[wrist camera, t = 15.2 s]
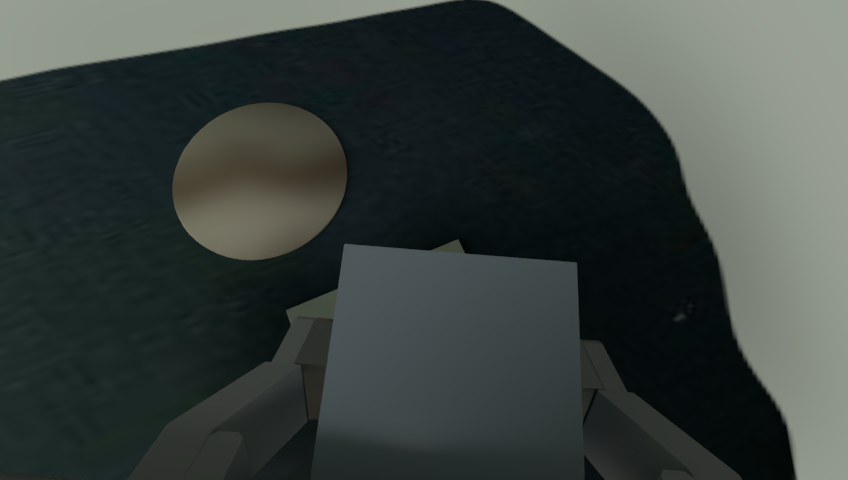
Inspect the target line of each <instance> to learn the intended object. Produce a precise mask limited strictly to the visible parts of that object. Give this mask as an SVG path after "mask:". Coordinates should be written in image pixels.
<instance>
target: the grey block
mask: <svg viewBox="0 0 848 480" xmlns="http://www.w3.org/2000/svg"><path fill="white" fill-rule="evenodd" d="M310 480H585V472H584V445H583V417H582V390H581V362H580V335H579V308H578V280H577V263H575V262H563V261H550V260H538V259H525V258H513V257H500V256H488V255H475V254H463V253H450V252H438V251H425V250H413V249H401V248H388V247H376V246H363V245H351V244H344V250H343V257H342V264H341V271H340V277H339V284H338V291H337V298H336V305H335V312H334V319H333V325H332V332H331V339H330V346H329V353H328V360H327V366H326V373H325V380H324V387H323V394H322V401H321V408H320V414H319V421H318V428H317V435H316V442H315V449H314V456H313V462H312V469H311V476H310Z"/></svg>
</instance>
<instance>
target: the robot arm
mask: <svg viewBox="0 0 848 480" xmlns="http://www.w3.org/2000/svg"><path fill="white" fill-rule="evenodd" d="M332 325H333V319H328V318H315V317H305V316H298V317H297V318H295V319H294V321H293V323H292V325H291V326H290V328H289V330H288V332H287V334H286V336H285V338H284V339H283V341H282V343H281V345H280V347H279V349H278V351H277V352H276V354H275V356H274V358H273V360H272V362H264V363H262V364H261V365H259V366H258V367H256V368H255V369H253V370H251V371H250V372H248V373H247V374H245V375H244V376H242V377H240V378H239V379H237V380H236V381H234V382H233V383H231V384H229V385H228V386H226V387H225V388H223V389H222V390H220V391H218V392H217V393H215V394H214V395H212V396H211V397H209V398H207V399H206V400H204V401H203V402H201V403H200V404H198V405H196V406H195V407H193V408H192V409H190V410H189V411H187V412H185V413H184V414H182V415H181V416H179V417H178V418H176V419H174V420H173V421H171V422H170V423H168V424H167V425H166V427H165V428H164V429H163V431H162V432H161V434H160V435H159V436H158V438H157V439H156V440H155V442H154V443H153V445H152V446H151V447H150V449H149V450H148V452H147V453H146V454H145V456H144V457H143V458H142V460H141V461H140V463H139V464H138V465H137V467H136V468H135V470H134V471H133V472H132V474H131V475H130V476H129V478H128V479H127V480H253V476H254V475H255V474H256V473H257V472H258V471H259V470H260V469H261V468H262V467H263V466H264V465H265V464H266V463H267V462H268V461H269V460H270V459H271V458H272V457H273V456H274V455H275V454H276V453H277V452H278V451H279V450H280V449H281V448H282V447H283V446H284V445H285V444H286V443H287V442H288V441H289V440H290V439H291V438H292V437H293V436H294V435H295V434H296V433H297V432H298V431H299V430H300V429H301V428H302V427H303V426H304V425H305V424H306V423H307V419H309V420H319V414H320V408H321V401H322V394H323V387H324V380H325V373H326V366H327V360H328V353H329V346H330V339H331V332H332ZM580 362H581V390H582V417H583V445H584V455H585V456H586V457H587V459H588V460H589V461H590V462H591V464H592V465H593V466H594V467H595V468H596V470H597V471H598V472H599V473H600V475H601V476H602V477H603V478H604V479H605V480H742V478H741V477H740V475H739V474H737V473H736V472H735V471H734V470H732V469H731V468H730V467H728V466H727V465H726V464H725V463H723V462H722V461H721V460H719V459H718V458H717V457H716V456H714V455H713V454H712V453H710V452H709V451H708V450H707V449H705V448H704V447H703V446H701V445H700V444H699V443H698V442H696V441H695V440H694V439H692V438H691V437H690V436H689V435H687V434H686V433H685V432H683V431H682V430H681V429H680V428H678V427H677V426H676V425H674V424H673V423H672V422H671V421H669V420H668V419H667V418H665V417H664V416H663V415H662V414H660V413H659V412H658V411H656V410H655V409H654V408H653V407H651V406H650V405H649V404H647V403H646V402H645V401H644V400H642V399H641V398H640V397H638V396H637V395H636V394H635V393H629V392H627V390H626V388H625V386H624V384H623V383H622V381H621V379H620V377H619V375H618V373H617V371H616V369H615V367H614V365H613V363H612V362H611V360H610V358H609V356H608V354H607V352H606V350H605V348H604V346H603V344H602V343H601V342H599V341H595V340H580ZM0 480H82V479H70V478H59V477H48V476H37V475H26V474H15V473H4V472H0Z"/></svg>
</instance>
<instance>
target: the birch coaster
mask: <svg viewBox="0 0 848 480" xmlns="http://www.w3.org/2000/svg"><path fill="white" fill-rule="evenodd" d="M347 178H348V175H347V163H346V157H345V154H344V151H343V148H342V146H341V144H340V142H339V140H338V138H337V136H336V135H335V134H334V132H333V131H332V130H331V129H330V127H329V126H328V125H327V124H326V123H325V122H323V121H322V120H321V119H320V118H318V117H317V116H315V115H314V114H312V113H310V112H308V111H306V110H304V109H301V108H299V107H295V106H292V105H287V104H281V103H257V104H251V105H246V106H243V107H239V108H236V109H234V110H231V111H228V112H226V113H224V114H222V115H221V116H219V117H217V118H215V119H214V120H212V121H211V122H209V123H208V124H207V125H206V126H204V127H203V128H202V129H201V130H200V131H199V132H198V133H197V134H196V135H195V136H194V137H193V138H192V139H191V141H190V142H189V143H188V145H187V146H186V148H185V149H184V151H183V153H182V155H181V156H180V159H179V161H178V164H177V166H176V170H175V173H174V178H173V200H174V206H175V209H176V212H177V215H178V217H179V219H180V221H181V223H182V225H183V226H184V228H185V229H186V230H187V232H188V233H189V234H190V235H191V236H192V237H193V238H194V239H195V240H196V241H197V242H199V243H200V244H201V245H203V246H204V247H206V248H207V249H209V250H211V251H213V252H215V253H217V254H220V255H223V256H226V257H229V258H235V259H240V260H263V259H269V258H274V257H278V256H281V255H284V254H287V253H290V252H292V251H294V250H296V249H298V248H300V247H302V246H303V245H305V244H307V243H308V242H310V241H311V240H312V239H314V238H315V237H316V236H317V235H319V234H320V233H321V232H322V231H323V230H324V229H325V228H326V227H327V225H328V224H329V223H330V221H331V220H332V219H333V218H334V216H335V214H336V213H337V211H338V209H339V207H340V205H341V203H342V200H343V198H344V194H345V191H346V186H347Z"/></svg>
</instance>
